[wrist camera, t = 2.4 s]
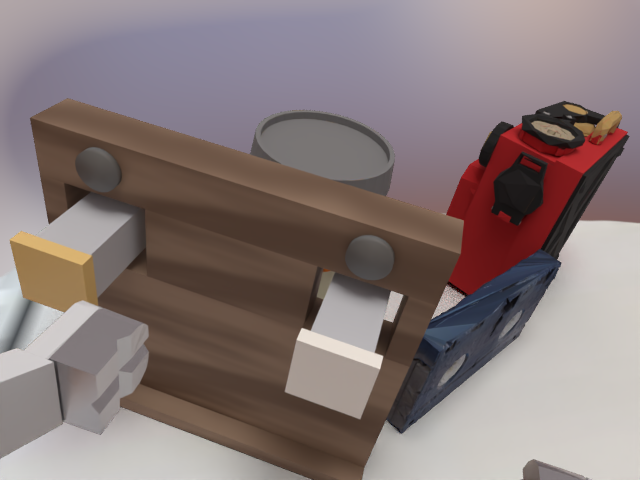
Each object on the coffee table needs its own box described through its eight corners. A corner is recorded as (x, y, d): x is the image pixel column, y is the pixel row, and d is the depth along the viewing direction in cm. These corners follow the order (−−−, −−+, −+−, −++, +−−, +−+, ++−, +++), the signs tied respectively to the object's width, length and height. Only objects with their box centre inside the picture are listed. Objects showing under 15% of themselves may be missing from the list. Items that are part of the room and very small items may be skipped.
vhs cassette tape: (497, 321, 53) (540, 246, 47) (522, 341, 51) (569, 266, 45) (372, 408, 42) (407, 325, 36) (399, 436, 40) (439, 354, 34)
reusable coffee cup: (367, 253, 58) (405, 131, 49) (346, 333, 48) (388, 199, 39) (260, 222, 59) (277, 96, 49) (217, 294, 49) (229, 154, 40)
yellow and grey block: (89, 321, 27) (82, 265, 25) (23, 297, 28) (9, 240, 26) (161, 243, 33) (161, 191, 31) (105, 224, 34) (100, 171, 31)
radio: (480, 223, 67) (550, 72, 55) (554, 266, 62) (648, 111, 50) (415, 274, 56) (484, 102, 44) (499, 330, 52) (601, 154, 40)
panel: (355, 495, 36) (458, 273, 23) (61, 383, 39) (8, 128, 26) (372, 423, 41) (465, 206, 28) (109, 328, 43) (84, 89, 31)
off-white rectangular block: (360, 419, 26) (380, 369, 23) (284, 392, 26) (296, 339, 24) (386, 319, 32) (404, 270, 29) (323, 297, 32) (336, 248, 30)
